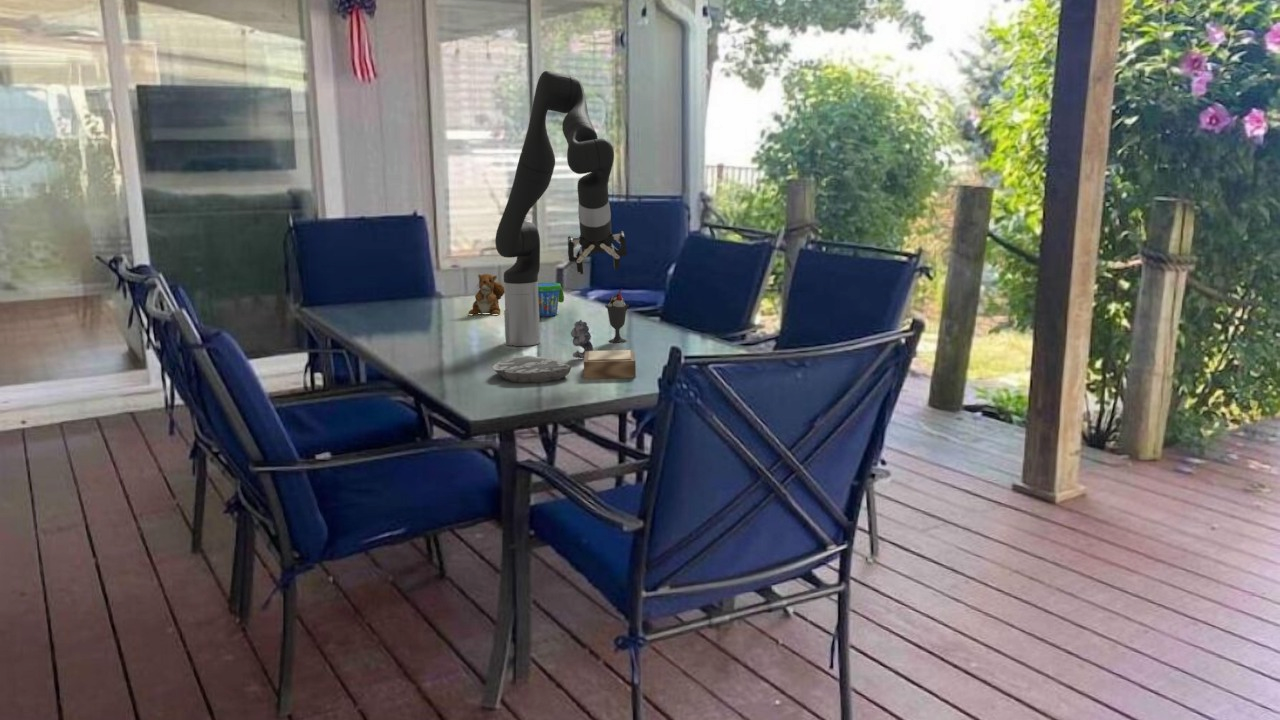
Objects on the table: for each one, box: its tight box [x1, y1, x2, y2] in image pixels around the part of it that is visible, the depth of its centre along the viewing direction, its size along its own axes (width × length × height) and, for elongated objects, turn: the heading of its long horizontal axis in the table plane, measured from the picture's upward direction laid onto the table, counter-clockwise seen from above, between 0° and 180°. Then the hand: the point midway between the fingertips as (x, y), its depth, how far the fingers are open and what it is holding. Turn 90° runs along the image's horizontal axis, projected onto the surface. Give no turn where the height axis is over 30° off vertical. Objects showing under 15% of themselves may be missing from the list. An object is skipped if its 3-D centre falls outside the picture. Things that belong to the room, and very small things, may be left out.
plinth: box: [583, 349, 637, 380], centre depth 231 cm, size 12×12×4 cm
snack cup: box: [538, 281, 565, 318], centre depth 312 cm, size 16×10×10 cm
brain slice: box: [491, 355, 572, 384], centre depth 228 cm, size 20×17×3 cm
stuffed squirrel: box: [468, 273, 505, 315], centre depth 318 cm, size 10×14×13 cm
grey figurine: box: [570, 319, 595, 359], centre depth 246 cm, size 5×5×10 cm
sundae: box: [604, 288, 630, 344], centre depth 267 cm, size 7×7×15 cm
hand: (598, 270), depth 240 cm, fingers open, 8 cm apart
